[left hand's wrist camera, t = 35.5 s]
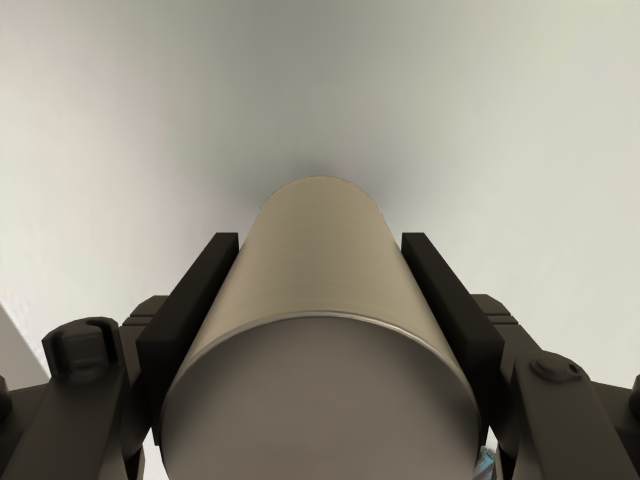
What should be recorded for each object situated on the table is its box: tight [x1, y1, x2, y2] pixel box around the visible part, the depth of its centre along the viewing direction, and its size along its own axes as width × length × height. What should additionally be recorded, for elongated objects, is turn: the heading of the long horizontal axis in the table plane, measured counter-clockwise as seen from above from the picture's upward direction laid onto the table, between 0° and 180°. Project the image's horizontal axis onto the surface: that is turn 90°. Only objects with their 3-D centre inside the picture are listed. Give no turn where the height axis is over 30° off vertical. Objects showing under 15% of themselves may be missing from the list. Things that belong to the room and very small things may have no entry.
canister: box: [159, 176, 482, 480], centre depth 12 cm, size 6×6×11 cm
